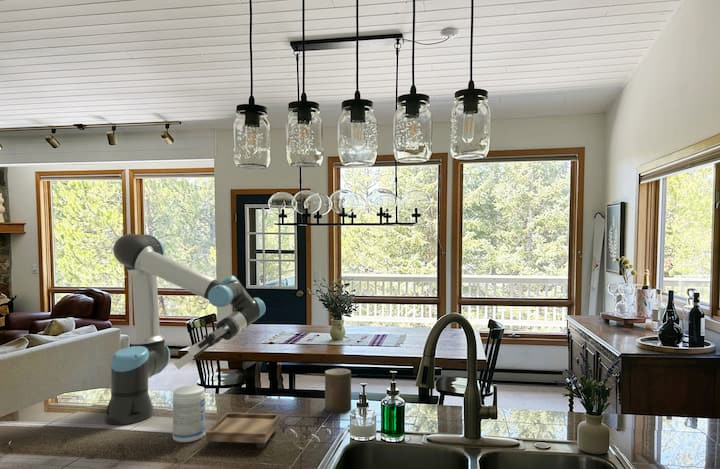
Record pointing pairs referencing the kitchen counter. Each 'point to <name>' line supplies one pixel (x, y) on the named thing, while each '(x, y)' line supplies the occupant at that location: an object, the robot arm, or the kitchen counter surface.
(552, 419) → the kitchen counter surface
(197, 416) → the supplement tub
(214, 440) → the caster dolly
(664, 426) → the kitchen counter surface
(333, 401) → the pillar candle
